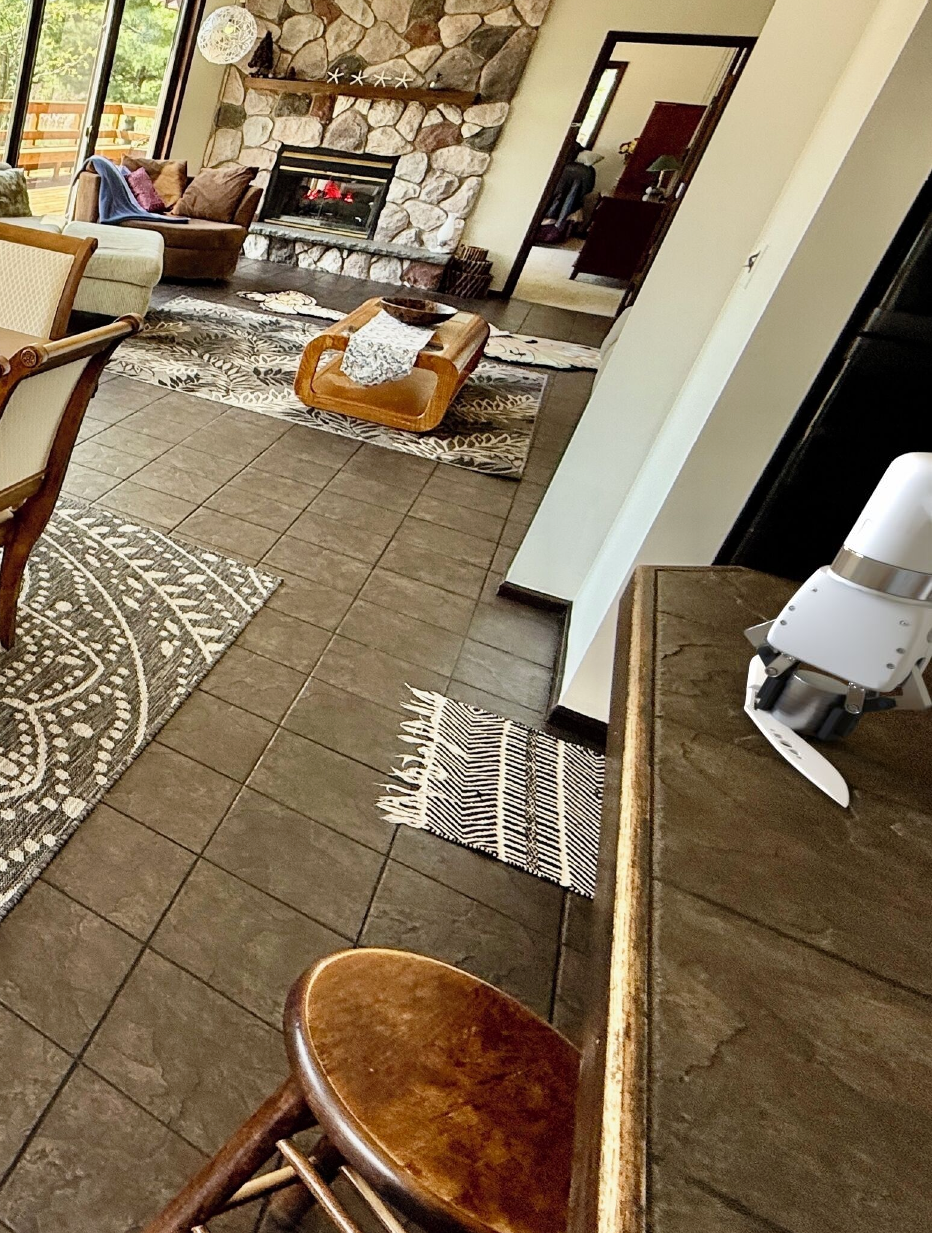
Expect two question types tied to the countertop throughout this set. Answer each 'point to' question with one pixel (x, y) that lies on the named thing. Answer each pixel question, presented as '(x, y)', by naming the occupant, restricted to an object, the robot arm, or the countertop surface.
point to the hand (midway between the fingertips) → (797, 721)
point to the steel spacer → (808, 701)
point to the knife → (792, 741)
